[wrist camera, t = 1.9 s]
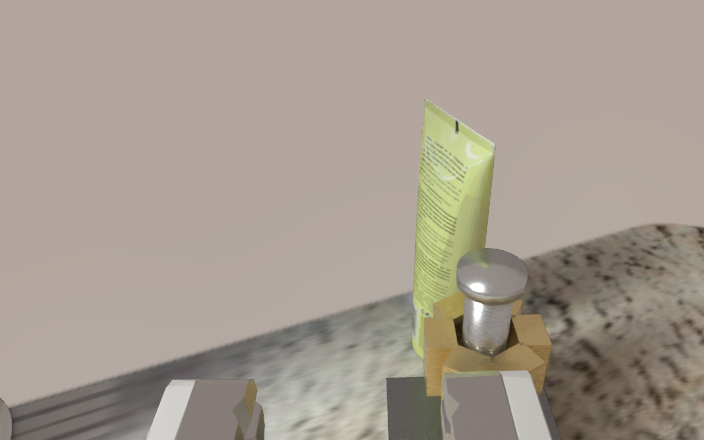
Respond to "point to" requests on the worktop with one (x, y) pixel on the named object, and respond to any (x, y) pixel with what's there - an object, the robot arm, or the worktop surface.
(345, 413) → the worktop surface
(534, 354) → the tan nut with handle
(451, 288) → the tube
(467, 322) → the post
